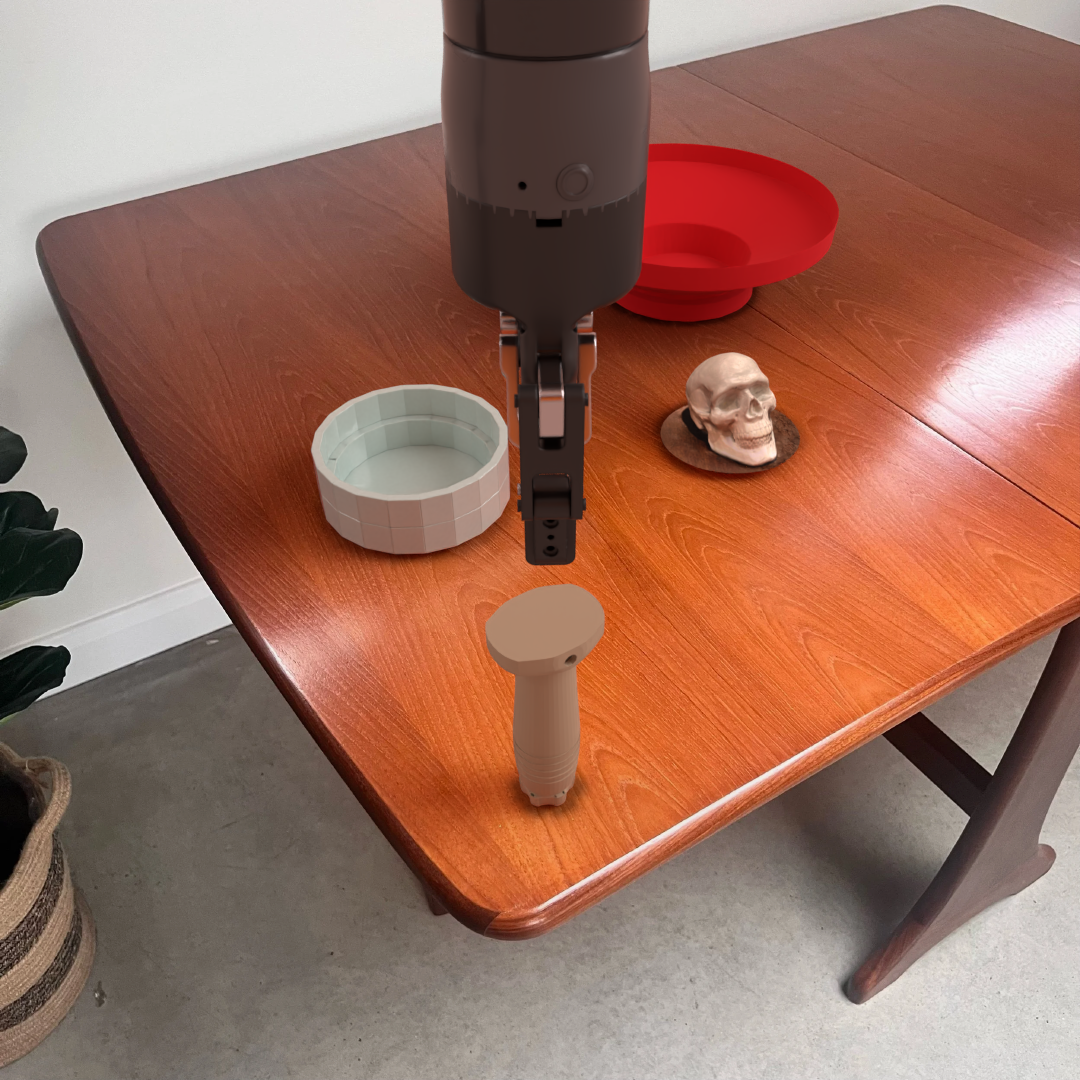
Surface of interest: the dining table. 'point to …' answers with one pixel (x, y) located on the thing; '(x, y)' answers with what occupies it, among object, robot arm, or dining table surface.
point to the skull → (730, 419)
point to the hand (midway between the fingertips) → (547, 498)
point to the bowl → (724, 229)
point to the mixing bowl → (412, 468)
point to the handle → (546, 680)
